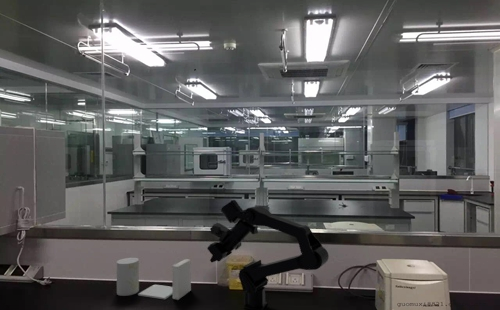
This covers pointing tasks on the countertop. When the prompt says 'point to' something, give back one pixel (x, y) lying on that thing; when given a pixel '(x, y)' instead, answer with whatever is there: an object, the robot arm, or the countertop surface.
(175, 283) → the white rectangular block
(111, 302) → the countertop surface
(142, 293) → the mat
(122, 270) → the grey upright cylinder
